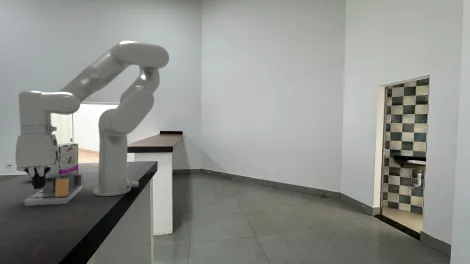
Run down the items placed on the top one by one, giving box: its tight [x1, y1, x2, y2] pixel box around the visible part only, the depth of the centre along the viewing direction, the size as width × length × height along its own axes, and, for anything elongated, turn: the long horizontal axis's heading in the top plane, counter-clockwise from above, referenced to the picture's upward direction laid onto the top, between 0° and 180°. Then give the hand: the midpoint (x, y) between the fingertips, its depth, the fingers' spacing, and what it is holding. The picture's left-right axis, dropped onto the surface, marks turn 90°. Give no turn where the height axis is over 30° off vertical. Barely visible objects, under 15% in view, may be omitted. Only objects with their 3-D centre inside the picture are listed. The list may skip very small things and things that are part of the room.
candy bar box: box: [48, 142, 79, 175], centre depth 99 cm, size 11×5×16 cm, turn 179°
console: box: [24, 173, 84, 207], centre depth 82 cm, size 11×18×7 cm, turn 19°
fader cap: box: [55, 178, 69, 197], centre depth 77 cm, size 3×2×5 cm
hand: (39, 187), depth 75 cm, fingers closed
